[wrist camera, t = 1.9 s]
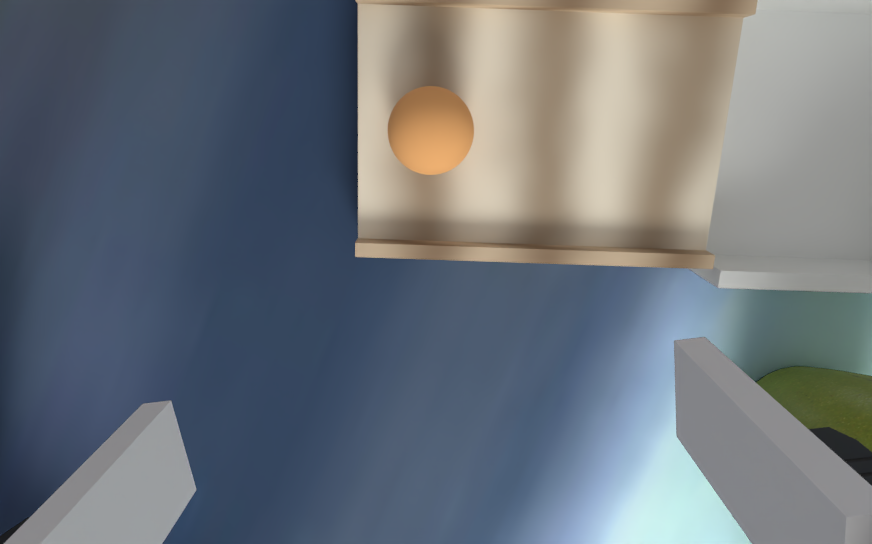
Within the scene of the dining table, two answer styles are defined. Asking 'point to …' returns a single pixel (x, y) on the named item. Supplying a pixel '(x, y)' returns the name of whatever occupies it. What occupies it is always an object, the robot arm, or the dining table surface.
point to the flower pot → (825, 399)
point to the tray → (797, 152)
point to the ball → (430, 130)
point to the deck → (551, 128)
